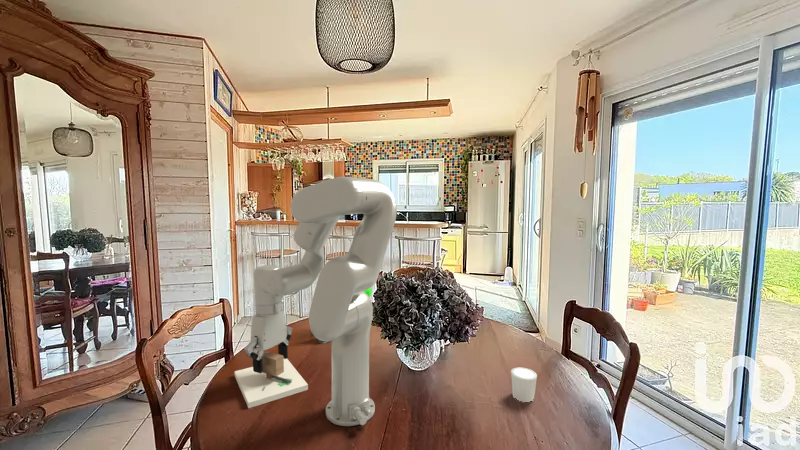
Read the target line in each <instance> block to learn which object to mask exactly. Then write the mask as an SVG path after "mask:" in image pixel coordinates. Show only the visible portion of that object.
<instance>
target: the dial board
mask: <svg viewBox="0 0 800 450" xmlns="http://www.w3.org/2000/svg"><path fill="white" fill-rule="evenodd" d="M234 377H235V380H236V382H237V384H238V385H237V386H238V388H239V390H240V391H241V394H242V396H243V399H244V401H245V404H246V406H247V408H248V409H252V408H253V407H254V408H255V407H257V406H261V405H264V404H266V403H267V404H268V403H270V402H274V401H276V400H280V399H282V398H286V397H289V396H292V395H295V394H299V393H302V392H305V391H308V390H309V384H308V383H307V381H306V380H305V378H303V377H302V375H301V374H300V372H298V370H297V369H296V368H295V367H294V365H293V364H292V362H290V360H289V359H288V358H287V359H284V372H283V373H281V374H280V375H278V377H281V378H285V379H288V380H291V381H292V382H291V383H287V382H284V381H280V380H277V379H273V378H270V379H268V378H266V373H257V372H254V371H253V366H250V367H246V368H243V369H238V370H235V371H234Z"/></svg>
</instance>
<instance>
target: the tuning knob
mask: <svg viewBox="0 0 800 450" xmlns="http://www.w3.org/2000/svg"><path fill="white" fill-rule="evenodd" d="M258 353H259V352H257V355H258ZM261 359H263V372H262V373H266V378H268V379H270V378H273V379H277V380H280V381H284V382H287V383H291V382H292V381H291V380H288V379H285V378H281V377H278V375H280V374H281V373H283V372H284V356H283V355H279V354H278V353H274V352H271V351H267V350H265V351H264V352H263V354H262V357H261Z"/></svg>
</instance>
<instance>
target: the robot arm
mask: <svg viewBox="0 0 800 450" xmlns="http://www.w3.org/2000/svg"><path fill="white" fill-rule="evenodd" d="M397 209H398V208H397V202H396V198H395V196H394V194H393V192H392V190H390V189H389V187H388V186H387V185H386V184H384V183H383V182H381V181H378V180H376V179H373V178H366V177H355V176H337V177H333V178H329V179H326V180H324V181H320V182H317V183H315V184H311V185H308V186H306V187H303V188H301V189H300V190H298V191H297V192H296V193H295V194H294V195H293V197H292V198H291V201H290V213H291V215H292V217H293V219H295V221H297V222H298V225H297V227H296V229H295V230H294V232H293V237H292V238H293V241H294V242H295V244H296V245H297V246H298V247H299V248H300V249H302V250H304V252H305V253H304V254H303V257H302V258H301V259H300V262H299V263H298V264H294V265H290V266H289V265H288V266H286V267H280V266H279V265H276V264H275V265H274V264H268V265H267V264H266V265H260V266H257V267H256V268H255V269H253V270H254V271H253V286H254V287H253V288H254V290H253V291H254V313H255V314H253V315H252V320H251V324H250V325H251V327H250V341H249V343H248V344H247V345H245V347H244V351H245V353H246V356H247V357H249V358H250V359H251V360H252V367H253V371H254V372H257V373H262V372H263V359H261V357H262V354H263V352H264V351H267V350H270V349H272V348H273V347H276V346H277V345H278V346H277V347H278V349H277V351H278V353H277V354H279V355H283V356H284V359H288V357H289V356H288V355H289V354H288V353H289V351H288V345H290V339H291V337H292V331H293V327H290V326H287V320H286V313H285V311H284V308H283V304H284V300H283V297H284V296H287V295H290V294H293V293H297V292H299V291H303V290H305V289H308V288H310V287H311V286H312V285H313V284H314V283H315V281H316V280H317V282H316V286H315V289H314V291H313V297H312V300H311V303H310V304H311V305H310V307H309V308H310V309H309V314H308V325H309V329H310V331H311V333H312V335H313V336H314V337H315V338H316V339H317V340H318V339H319V340H321V341H331V354H330V355H331V356H330V357H331V360H330V362H331V400H330V401H329V402H328V403H327V404H326V406H325V416H326V418H327V420H328V421H330V423H333V424H334V425H337V426H342V427H353V426H358V425H361V426H364V425H365V424H366V423H367V422H368V421H369V420H370V419H371V418H372V417H373V416H374V414H375V410H376V405H375V402H374V400H373V399H372V398H370V333H371V327H372V321H373V315H374V314H373V313H374V309H373V308H374V307H373V303H372V300H371V298H370V297H369V296H368V295H367V294H366V293H365V292H363V291H365V290H367V289H369V288H371V289H372V287H373V286H374V285H376V283H377V281H378V278H379V275H380V272H381V268H382V265H383V262H384V258H385V255H386V252H387V249H388V244H389V241H390V239H391V236H392V233H393V230H394V226H395V225H396V224H395V223H396V219H397V214H398V213H397V212H398V211H397ZM361 214H363V216H362V220H361V221H360V222H359V224H358V226H357V228H356V229H355V231H354V234H353V237H352V240H351V241H352V242H351V244H350V247H349V250H348V252H347V253H345V254H342V255H339V256H335V257H333V258H331V259H329V260H328V261H327V262H326V263H325V251H324V247H325V245H326V243H327V241H328V240H329V237H330V236H331V234H332V232H333V231H334V229H335V228H336V225H337V223H338V222H339V220H340V219H341V216H346V215H361ZM324 263H325V264H324ZM257 353H258V355H257Z"/></svg>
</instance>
